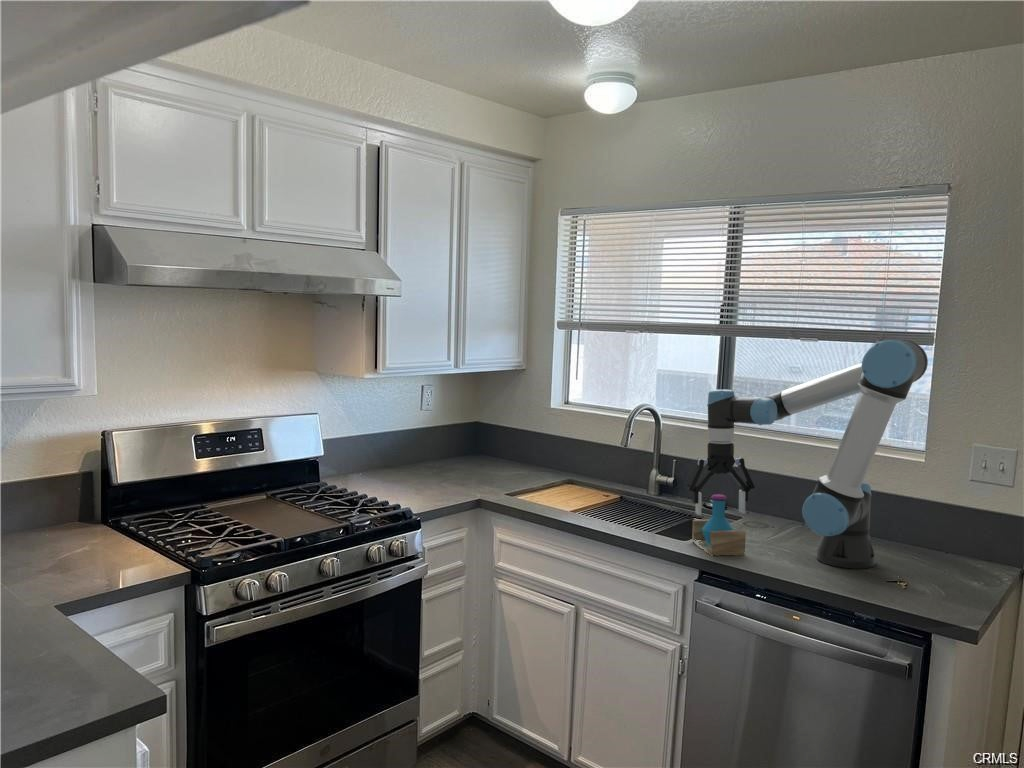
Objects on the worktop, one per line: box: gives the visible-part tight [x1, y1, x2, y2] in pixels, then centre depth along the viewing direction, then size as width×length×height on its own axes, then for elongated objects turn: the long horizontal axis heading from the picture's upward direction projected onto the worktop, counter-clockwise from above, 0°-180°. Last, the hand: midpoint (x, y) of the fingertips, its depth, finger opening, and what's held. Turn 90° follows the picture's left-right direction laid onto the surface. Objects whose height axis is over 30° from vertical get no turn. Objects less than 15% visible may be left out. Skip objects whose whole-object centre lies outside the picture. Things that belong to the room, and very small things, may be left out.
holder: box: [691, 518, 747, 556], centre depth 224 cm, size 15×10×7 cm, turn 8°
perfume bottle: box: [702, 493, 734, 547], centre depth 224 cm, size 9×9×15 cm
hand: (720, 513), depth 223 cm, fingers open, 13 cm apart
